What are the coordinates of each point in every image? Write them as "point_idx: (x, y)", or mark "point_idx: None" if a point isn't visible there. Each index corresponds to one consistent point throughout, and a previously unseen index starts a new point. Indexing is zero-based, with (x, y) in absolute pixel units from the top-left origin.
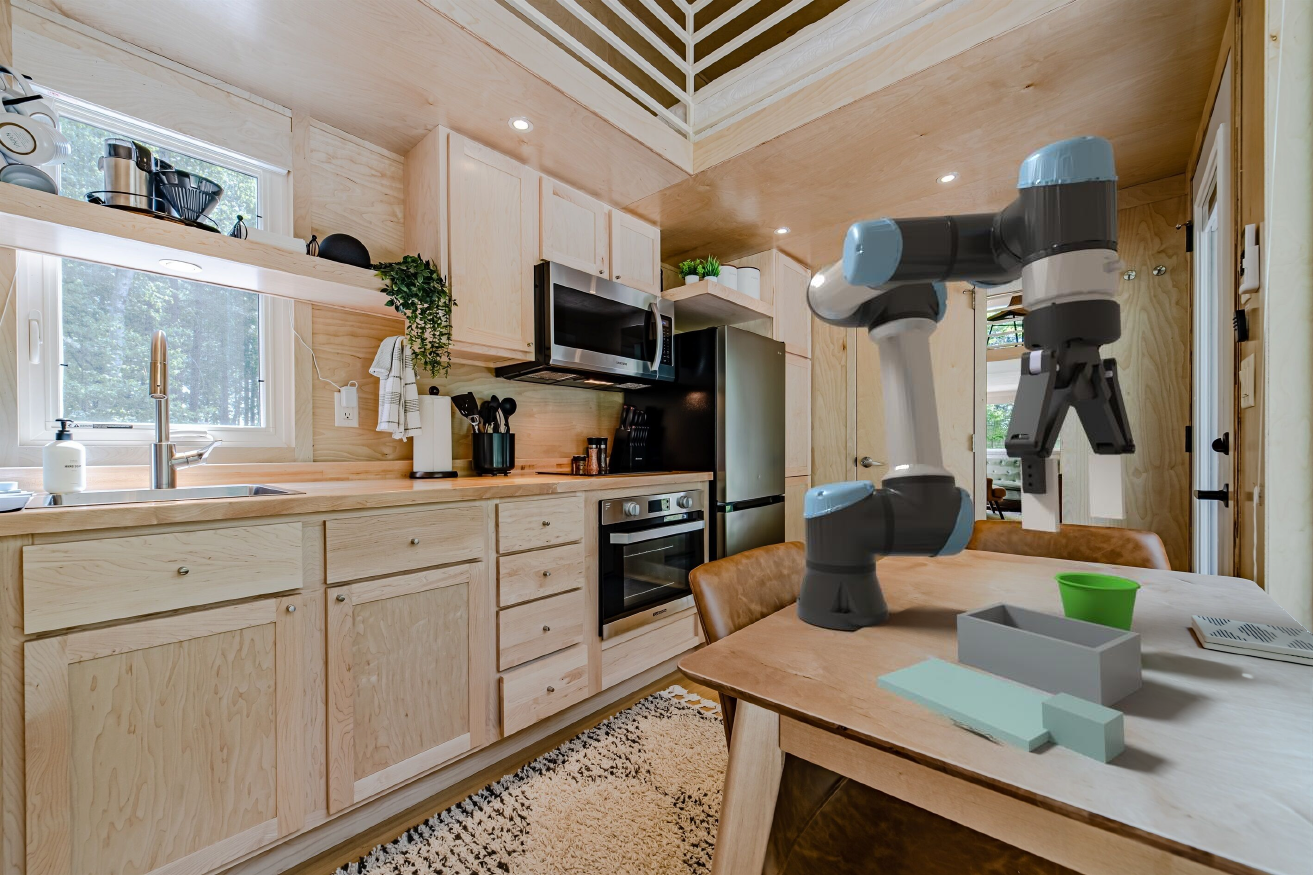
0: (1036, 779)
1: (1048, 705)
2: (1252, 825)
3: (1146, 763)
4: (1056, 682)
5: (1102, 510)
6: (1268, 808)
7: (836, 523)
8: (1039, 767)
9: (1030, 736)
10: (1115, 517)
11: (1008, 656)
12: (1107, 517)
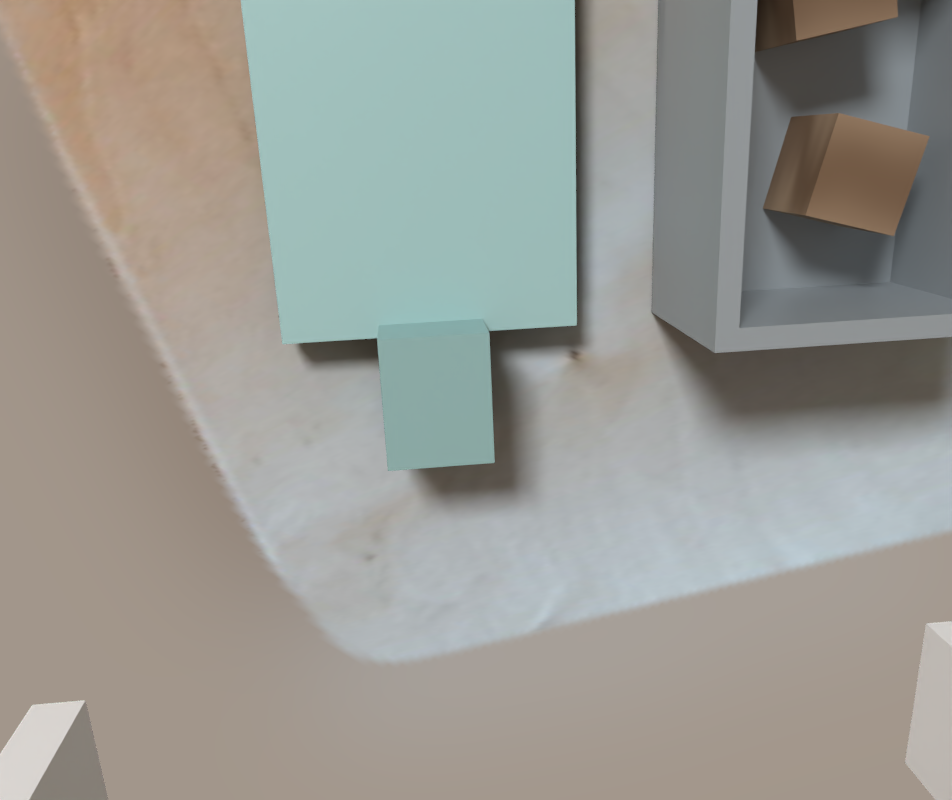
0: (229, 380)
1: (378, 355)
2: (433, 608)
3: (502, 452)
4: (671, 214)
5: (943, 712)
6: (516, 602)
7: None
8: (281, 359)
9: (309, 333)
10: (913, 740)
11: (689, 62)
12: (917, 702)
